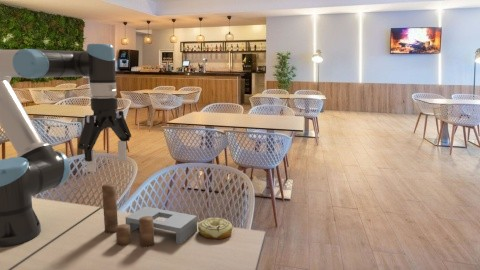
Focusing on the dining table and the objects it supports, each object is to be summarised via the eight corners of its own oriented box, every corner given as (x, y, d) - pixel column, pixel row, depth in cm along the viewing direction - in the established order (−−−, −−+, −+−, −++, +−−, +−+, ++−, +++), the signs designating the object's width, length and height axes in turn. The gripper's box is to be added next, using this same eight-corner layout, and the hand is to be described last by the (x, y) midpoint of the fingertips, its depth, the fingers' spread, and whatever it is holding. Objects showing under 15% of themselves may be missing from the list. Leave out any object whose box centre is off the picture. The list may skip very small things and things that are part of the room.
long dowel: (102, 231, 119) (99, 186, 116) (110, 227, 122) (108, 182, 120) (112, 234, 117) (109, 188, 114) (120, 229, 121) (118, 184, 118)
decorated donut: (218, 244, 112) (218, 232, 111) (191, 235, 118) (191, 223, 117) (238, 231, 120) (238, 220, 119) (212, 223, 126) (212, 213, 125)
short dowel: (113, 244, 111) (112, 228, 110) (122, 238, 114) (121, 223, 114) (124, 246, 109) (123, 230, 108) (133, 241, 113) (132, 225, 112)
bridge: (126, 232, 119) (125, 217, 118) (145, 220, 128) (145, 206, 127) (180, 244, 111) (180, 228, 110) (197, 230, 120) (196, 215, 119)
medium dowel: (137, 245, 110) (136, 220, 108) (145, 240, 114) (144, 215, 112) (148, 248, 108) (147, 222, 107) (156, 242, 112) (155, 217, 111)
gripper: (81, 101, 99) (86, 178, 103) (140, 94, 122) (143, 157, 126) (60, 100, 102) (66, 175, 106) (121, 93, 125) (125, 155, 128)
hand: (108, 165), depth 116 cm, fingers open, 13 cm apart
